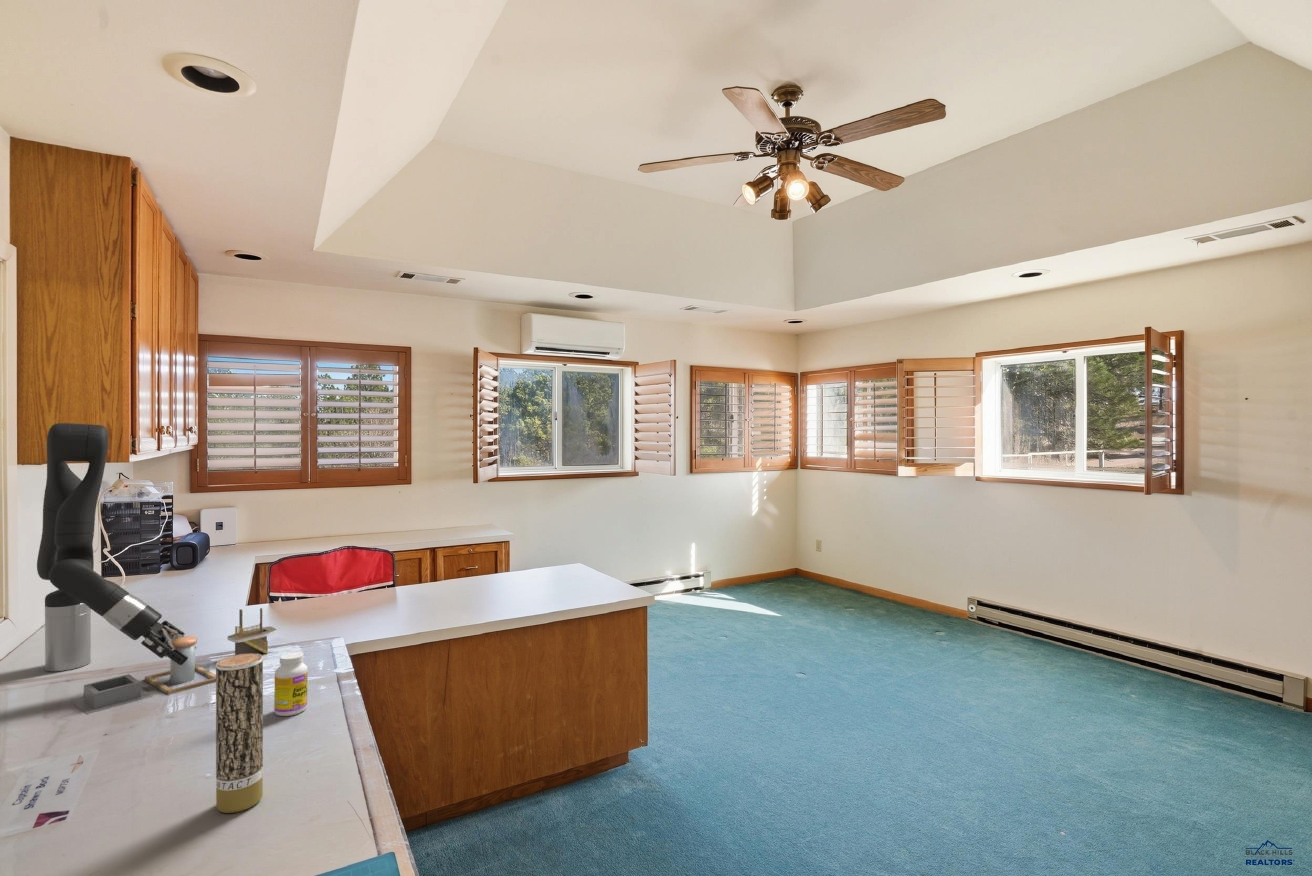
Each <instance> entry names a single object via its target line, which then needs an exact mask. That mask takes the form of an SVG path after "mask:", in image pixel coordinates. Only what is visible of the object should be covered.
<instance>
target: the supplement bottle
mask: <svg viewBox="0 0 1312 876" xmlns="http://www.w3.org/2000/svg"><path fill="white" fill-rule="evenodd" d="M303 660H304V654H303V652H299V651H298V652H297V651H296V652H295V651H294V652H286V653H284V654H281V655H280V657H279V664H280V666H279V667H277V668H276V670H274V695H273V696H274V707H273V708H274V709H273V710H274V711H273V712H274V714H275V715H277V716H278V717H289V716H290V717H291V716H295V715H298V714H301V713H303V711H305V710H306V709H307V707H308V680H309V679H308V677H309V675H308V674H309V673H308V672H309V671H308V670H309V669H308V666H307V665H306V664H305V663H303Z"/></svg>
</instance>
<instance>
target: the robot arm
mask: <svg viewBox="0 0 1312 876" xmlns="http://www.w3.org/2000/svg"><path fill="white" fill-rule="evenodd" d="M50 426H51V427H50V428H49V429H48V431H47V437H46V482H45V489H44V494H43V495H44V497H43V504H42V505H43V506H42V532H41V539H40V542H39V543H40V544H39V549H38V554H37V560H36V570H37V575H38V576H39V578H41V580H43V581H49V582H50V583H51V585H52V586H53V587H55V588H56V589H57V590H54V591H52V592H49V593H48V594H46V595H45V597H44V670H45V671H47V672H62V671H68V670H74V669H78V668H81V667H84V666H86V665H89V664H90V663H91V660H92V655H91V654H92V653H91V652H92V651H91V649H92V637H91V636H92V634H91V633H92V628H91V627H92V619H91V618H92V615H91V612H92V611H93V612H95V613H96V614H97V615H99V616H101V617H102V619H103V618H104V619H105V620H106V621H107V622H108V624H110V625H111V626H112V627H113V628H115V629H117V630H118V631H120V632H121V633H123V634H124V635H126V636H127V637H128V638H130V639H131V640H133V641H136V640H138V639H140V638H141V637H143V638H144V639H143V640H142V641H141V642H140V644H141V645H142V646H144V647H145V648H146V649H148V650H150V651H151V652H152V653H153V654H154V655H156V656H158V657H159V658H161V659H163V658H168V659H170V661H171V660H173V661H174V662H176V663H177V664H179V665H182V664H183V663H184V662H186V661H187V659H188V657H187V656H186V655H184V654H183V653H181V652H180V651H179V650H177V649H175V647H174V646H173V645H172V639H175V638H179V637H185V634H186V633H185V632H184V631H182V630H181V629H179V627H176V626H175V625H173V624H172V623H171V622H169V621H167V620H163V621H162V622H161V623H160V622H159V620H161V619H162V618H163V615H162V613H160V612H159V611H157V610H155V609H154V608H153V607H151V606H150V605H149V604H148V603H147V602H144V601H143V600H142V599H140V598H139V597H137V596H135V595H134V594H132V593H130V592H129V591H127V590H126V589H124V588H123V587H121V586H120V585H118V584H117V583H115V582H113V581H111V580H107V579H106V578H105V577H103V576H102V575H100V574H99V573H97V572H96V571H95V570H94V565H95V564H94V547H93V543H94V541H93V540H94V535H95V525H96V524H95V522H96V521H95V520H96V513H97V505H98V499H99V496H100V491H101V487H102V483H103V478H104V477H103V476H104V473H105V468H106V462H107V456H108V449H109V432H108V429H107V428H106V426H104V425H102V424H91V423H90V424H89V423H88V424H87V423H75V422H74V423H70V422H59V423H54V424H52V425H50ZM67 462H80V463H81V462H86V463H88V468H87V470H86V474H85V476H84V478H82V479H81V478H80V477H79V476H77V474H75V473H74V472H73V471H72V470H71V469H70V466H69V464H68V463H67ZM91 610H92V611H91ZM196 649H197V645H195V650H196Z"/></svg>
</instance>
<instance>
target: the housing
mask: <svg viewBox="0 0 1312 876" xmlns="http://www.w3.org/2000/svg"><path fill="white" fill-rule="evenodd" d="M149 698H153V695H152V694H151V693H149V692H147V691H146V690H144V689H143V688H142V682H141V681H140V680H138V679H137V678H135V676H132V675H131V674H129V673H128V674H124V675H119V676H115V677H111V678H107V679H103V680H99V681H96V682H91V683H87V684H84V685H83V697H81V698H76V699H73V700H71V702H72V703H73V704H74V705H75V706H77V708H79V709H80V711H82V712H83V713H85V714H86V715H90V714H94V713H98V712H102V711H105V710H108V709H111V708H116V707H119V706H120V707H121V706H124V705H126V704H129V703H130V704H131V703H134V702H138V701H140V700H144V699H149Z"/></svg>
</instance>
